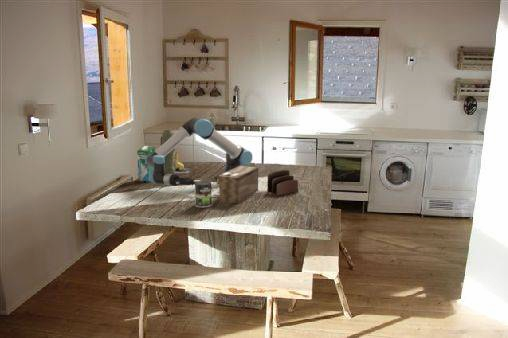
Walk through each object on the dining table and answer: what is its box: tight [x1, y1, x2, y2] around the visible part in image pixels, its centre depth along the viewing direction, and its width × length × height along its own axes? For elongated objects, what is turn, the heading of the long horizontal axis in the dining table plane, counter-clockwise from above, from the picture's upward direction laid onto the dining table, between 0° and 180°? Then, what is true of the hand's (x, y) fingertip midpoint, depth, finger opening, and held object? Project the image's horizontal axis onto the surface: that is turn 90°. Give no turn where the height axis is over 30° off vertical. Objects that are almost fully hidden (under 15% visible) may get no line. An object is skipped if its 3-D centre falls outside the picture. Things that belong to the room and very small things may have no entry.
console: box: [217, 165, 259, 204], centre depth 303 cm, size 14×33×17 cm, turn 158°
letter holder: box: [266, 169, 299, 197], centre depth 312 cm, size 10×20×14 cm, turn 130°
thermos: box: [160, 129, 176, 174], centre depth 353 cm, size 9×12×35 cm
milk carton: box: [136, 145, 156, 183], centre depth 339 cm, size 9×9×25 cm
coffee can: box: [193, 180, 212, 209], centre depth 281 cm, size 10×10×14 cm
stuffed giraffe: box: [173, 151, 191, 174], centre depth 372 cm, size 16×18×16 cm
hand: (202, 183), depth 302 cm, fingers closed
